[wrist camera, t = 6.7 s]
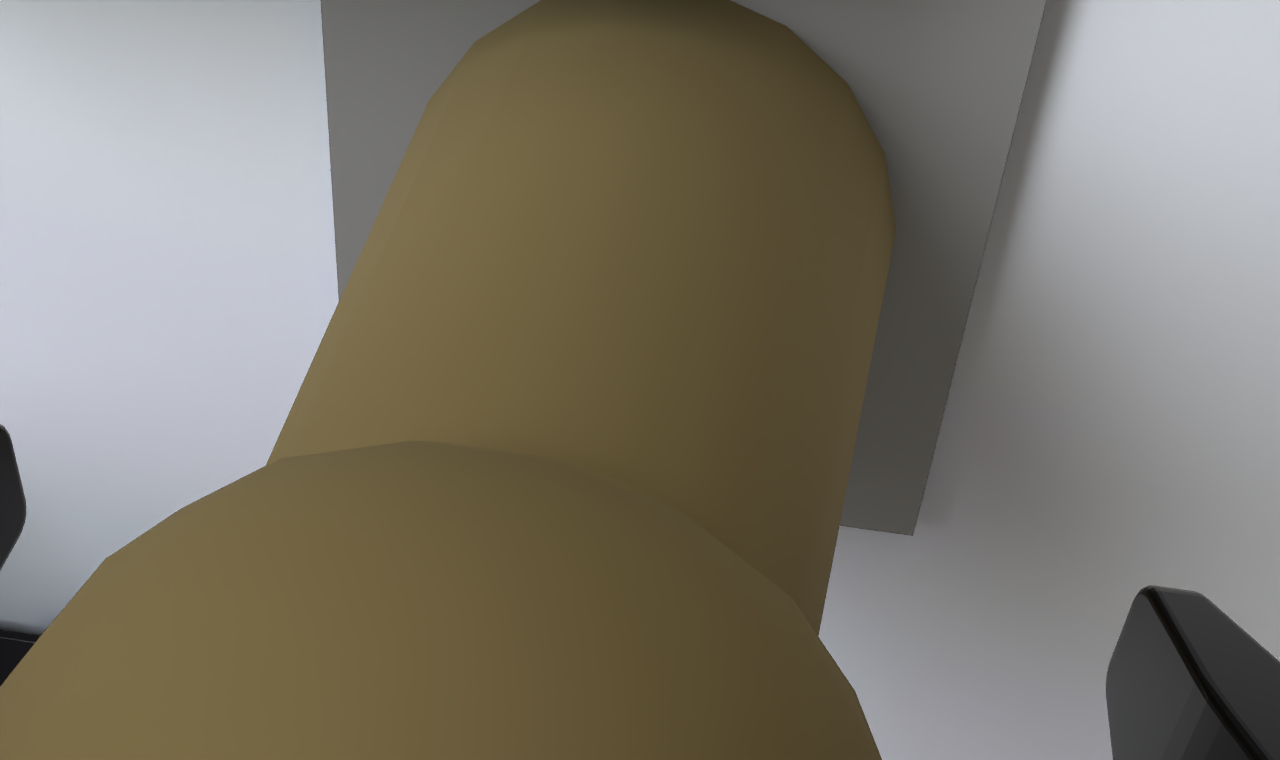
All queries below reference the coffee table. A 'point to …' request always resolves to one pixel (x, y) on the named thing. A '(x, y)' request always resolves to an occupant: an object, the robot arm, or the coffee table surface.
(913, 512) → the pad
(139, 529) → the coffee table surface
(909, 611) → the coffee table surface
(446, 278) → the cork
